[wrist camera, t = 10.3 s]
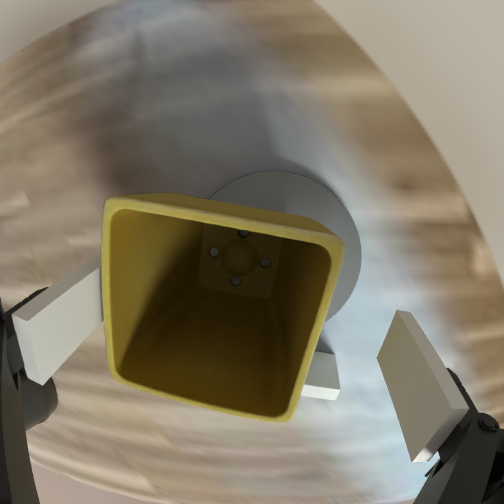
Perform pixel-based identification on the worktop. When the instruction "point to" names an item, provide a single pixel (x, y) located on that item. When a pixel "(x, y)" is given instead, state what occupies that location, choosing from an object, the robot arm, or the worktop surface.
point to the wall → (322, 377)
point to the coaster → (303, 204)
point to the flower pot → (214, 301)
